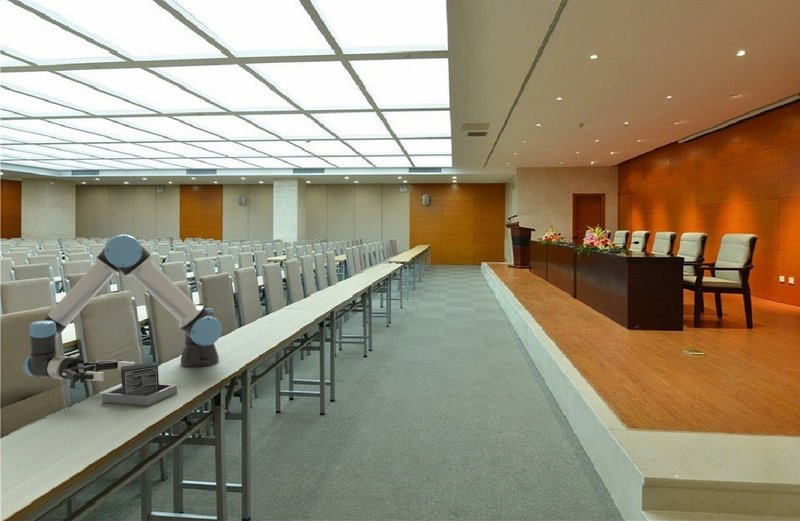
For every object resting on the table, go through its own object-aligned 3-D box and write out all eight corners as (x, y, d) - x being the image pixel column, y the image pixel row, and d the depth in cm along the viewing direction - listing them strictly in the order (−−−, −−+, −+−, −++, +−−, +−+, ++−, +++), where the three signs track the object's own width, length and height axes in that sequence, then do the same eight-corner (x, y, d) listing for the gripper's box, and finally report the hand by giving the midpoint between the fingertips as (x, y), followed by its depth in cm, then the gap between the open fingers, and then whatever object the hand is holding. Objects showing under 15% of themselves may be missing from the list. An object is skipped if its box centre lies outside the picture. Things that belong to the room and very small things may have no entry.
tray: (134, 390, 178) (134, 381, 177) (177, 393, 174) (176, 384, 173) (102, 402, 164) (102, 393, 164) (147, 406, 160) (147, 397, 160)
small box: (156, 391, 175) (155, 360, 174) (159, 395, 169) (159, 364, 169) (121, 396, 169) (120, 365, 168) (124, 402, 163) (123, 369, 163)
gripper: (96, 369, 187) (146, 372, 182) (34, 389, 163) (89, 393, 158) (96, 349, 187) (145, 351, 182) (33, 366, 163) (88, 369, 158)
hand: (119, 371), depth 170 cm, fingers open, 13 cm apart
